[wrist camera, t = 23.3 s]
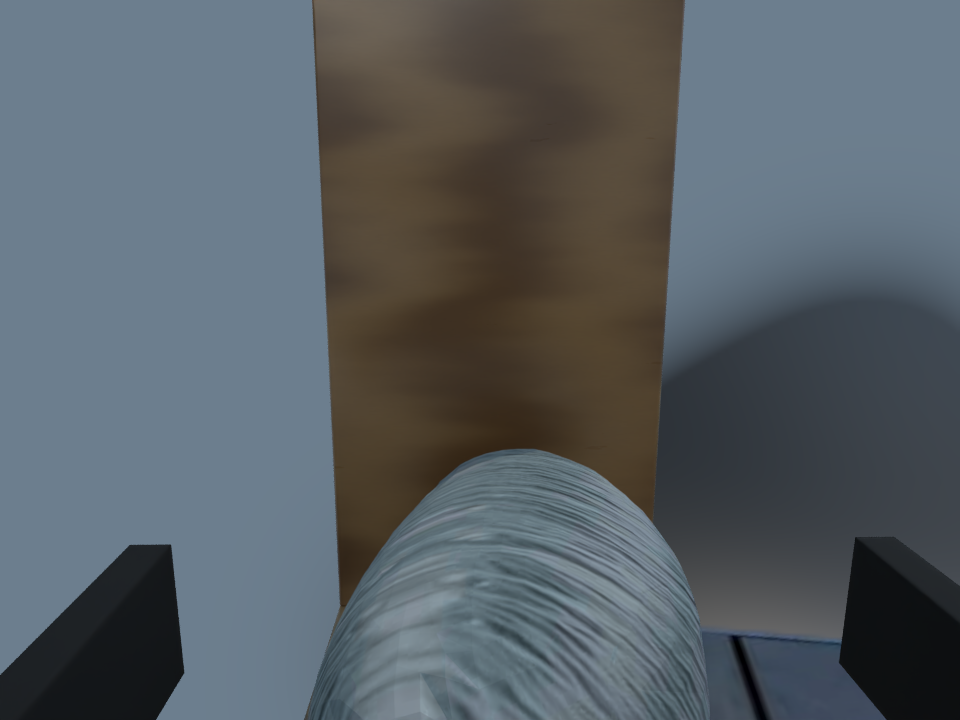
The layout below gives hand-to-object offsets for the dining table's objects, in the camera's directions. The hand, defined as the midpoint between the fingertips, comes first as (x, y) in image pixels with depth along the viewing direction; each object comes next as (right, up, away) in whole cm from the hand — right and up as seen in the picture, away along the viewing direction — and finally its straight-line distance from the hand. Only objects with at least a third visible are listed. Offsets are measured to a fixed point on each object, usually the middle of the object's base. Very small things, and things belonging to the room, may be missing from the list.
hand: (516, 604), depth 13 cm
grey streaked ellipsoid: (0, -7, +5) cm, 8 cm away
